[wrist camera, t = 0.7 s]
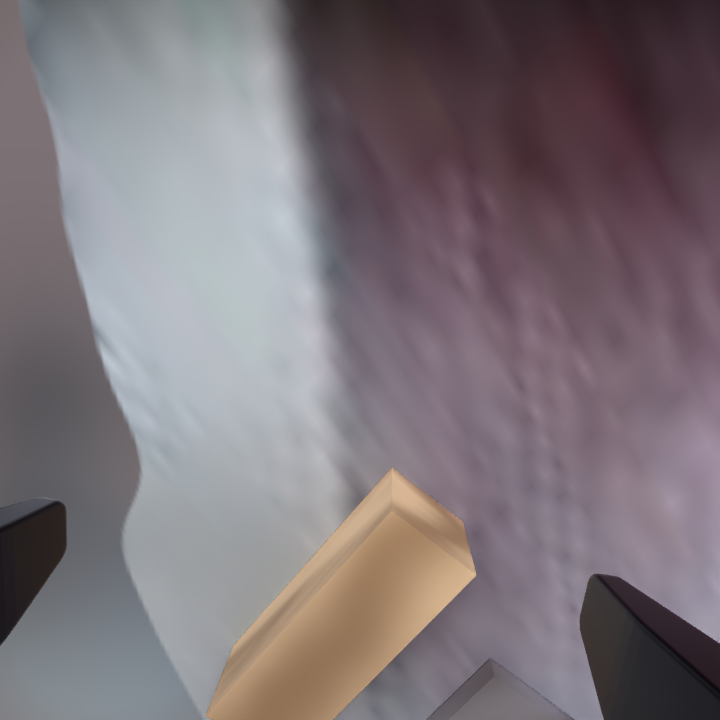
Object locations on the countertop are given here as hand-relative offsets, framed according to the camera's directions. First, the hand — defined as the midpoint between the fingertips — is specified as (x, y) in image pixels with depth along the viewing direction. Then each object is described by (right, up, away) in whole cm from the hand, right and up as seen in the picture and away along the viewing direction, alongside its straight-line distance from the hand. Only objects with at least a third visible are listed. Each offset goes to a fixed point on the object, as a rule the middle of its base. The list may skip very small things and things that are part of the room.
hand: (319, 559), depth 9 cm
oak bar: (0, -7, +15) cm, 17 cm away
